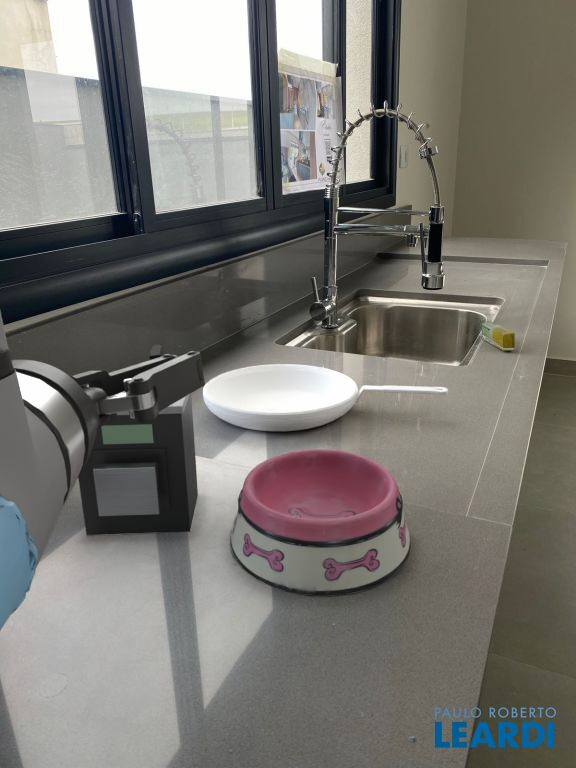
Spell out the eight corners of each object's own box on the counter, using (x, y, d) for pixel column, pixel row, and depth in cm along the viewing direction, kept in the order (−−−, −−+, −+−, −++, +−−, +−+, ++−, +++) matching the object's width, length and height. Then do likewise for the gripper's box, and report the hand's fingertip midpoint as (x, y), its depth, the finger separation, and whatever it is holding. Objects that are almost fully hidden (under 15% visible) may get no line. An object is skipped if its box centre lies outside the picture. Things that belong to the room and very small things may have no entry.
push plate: (159, 514, 60) (155, 467, 59) (98, 516, 60) (92, 469, 59) (161, 508, 61) (157, 461, 60) (101, 510, 61) (96, 463, 60)
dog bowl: (412, 606, 53) (417, 538, 50) (207, 585, 56) (203, 520, 53) (409, 501, 70) (412, 447, 68) (252, 490, 73) (250, 438, 71)
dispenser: (191, 533, 64) (182, 406, 59) (83, 537, 64) (65, 409, 59) (200, 494, 72) (192, 379, 68) (103, 497, 72) (89, 382, 67)
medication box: (481, 339, 140) (480, 322, 139) (492, 337, 141) (492, 321, 139) (503, 351, 129) (503, 333, 128) (515, 350, 129) (515, 331, 128)
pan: (224, 382, 112) (223, 360, 111) (439, 389, 107) (440, 366, 106) (183, 435, 89) (181, 408, 87) (455, 448, 83) (458, 419, 82)
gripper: (-248, 565, 29) (-70, 442, 49) (266, 470, 32) (232, 392, 53) (-301, 414, 27) (-94, 352, 48) (246, 331, 31) (219, 306, 51)
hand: (78, 373), depth 50 cm, fingers open, 13 cm apart
